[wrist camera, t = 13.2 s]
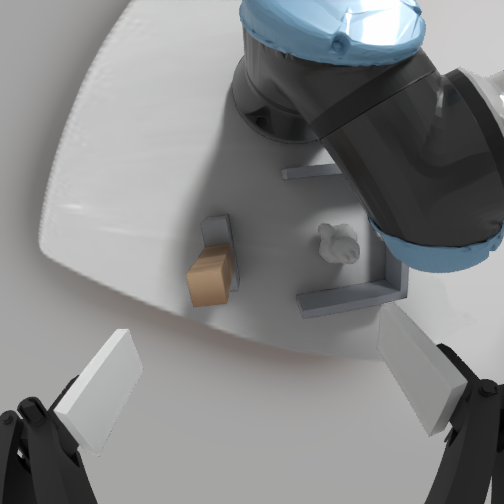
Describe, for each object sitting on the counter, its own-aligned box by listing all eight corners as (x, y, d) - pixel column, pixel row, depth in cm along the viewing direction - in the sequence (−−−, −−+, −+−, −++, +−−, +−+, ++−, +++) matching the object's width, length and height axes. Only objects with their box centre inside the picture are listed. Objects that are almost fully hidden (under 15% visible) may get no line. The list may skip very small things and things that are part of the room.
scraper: (206, 218, 35) (178, 240, 22) (228, 214, 35) (213, 235, 22) (218, 282, 38) (201, 335, 24) (239, 279, 37) (233, 332, 24)
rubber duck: (334, 268, 37) (353, 289, 29) (301, 236, 36) (315, 251, 28) (360, 240, 36) (385, 255, 28) (329, 207, 35) (349, 214, 27)
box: (281, 170, 34) (286, 168, 29) (386, 162, 33) (404, 160, 28) (297, 302, 38) (302, 319, 33) (391, 285, 38) (407, 297, 33)
